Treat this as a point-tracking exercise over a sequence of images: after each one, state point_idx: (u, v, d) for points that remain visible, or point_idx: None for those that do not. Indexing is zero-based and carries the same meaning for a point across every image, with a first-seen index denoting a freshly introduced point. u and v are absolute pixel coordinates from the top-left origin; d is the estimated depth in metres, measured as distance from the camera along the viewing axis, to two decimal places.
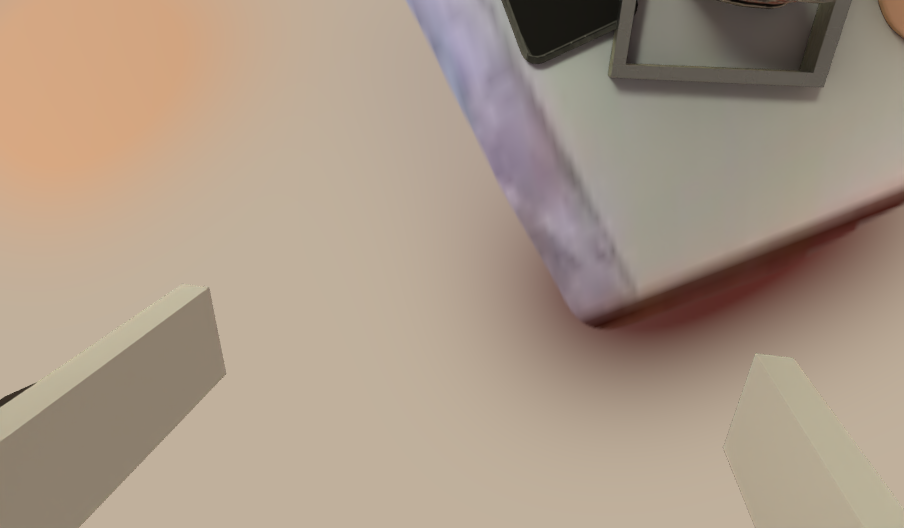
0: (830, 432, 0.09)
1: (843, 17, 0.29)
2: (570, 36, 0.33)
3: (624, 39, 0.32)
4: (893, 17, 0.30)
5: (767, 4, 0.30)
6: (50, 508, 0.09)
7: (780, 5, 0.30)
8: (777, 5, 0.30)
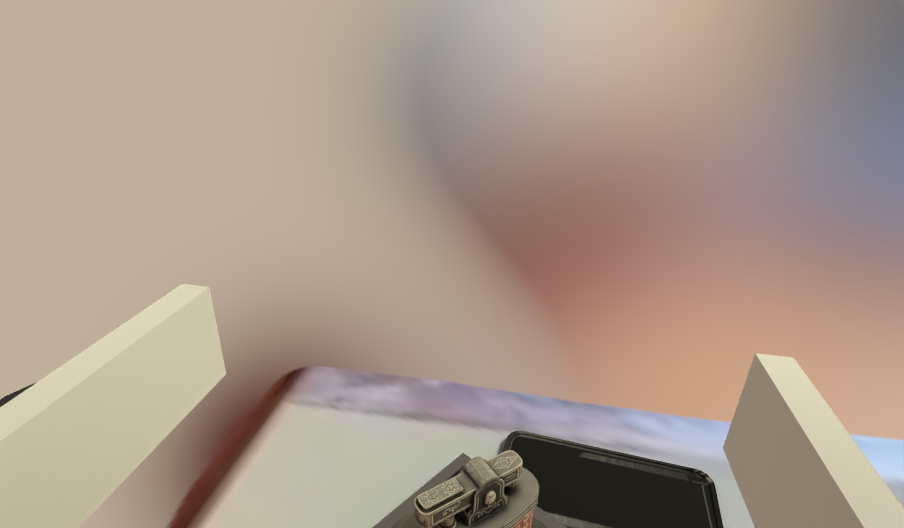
0: (830, 432, 0.09)
1: None
2: None
3: None
4: None
5: None
6: (50, 508, 0.09)
7: None
8: None
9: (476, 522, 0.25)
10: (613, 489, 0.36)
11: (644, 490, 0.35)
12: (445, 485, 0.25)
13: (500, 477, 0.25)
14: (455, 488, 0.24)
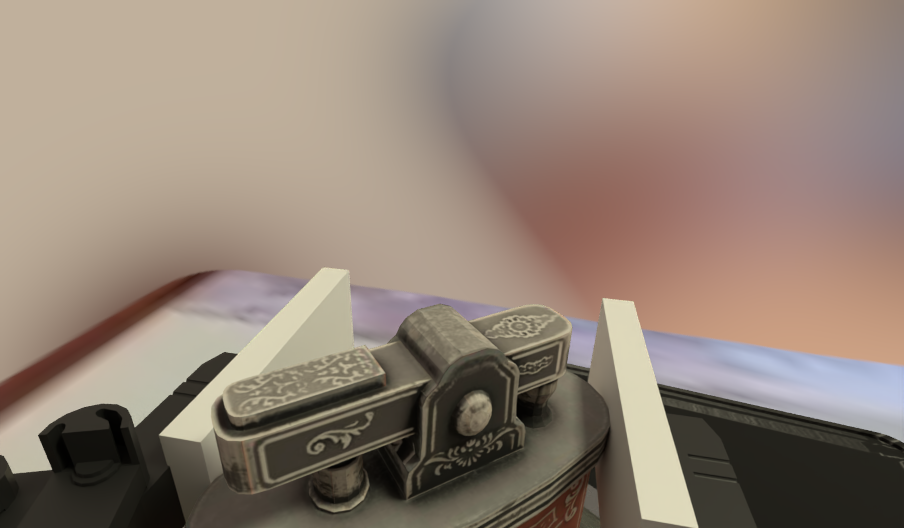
0: (633, 351, 0.11)
1: None
2: None
3: None
4: None
5: None
6: None
7: None
8: None
9: (430, 490, 0.08)
10: None
11: (788, 465, 0.18)
12: (329, 362, 0.08)
13: (507, 356, 0.08)
14: (359, 370, 0.07)
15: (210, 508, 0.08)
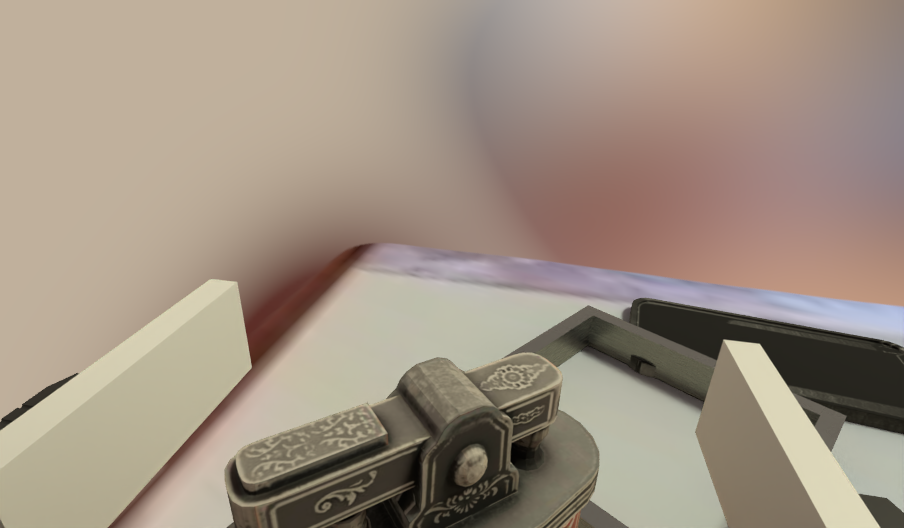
0: (787, 411, 0.09)
1: None
2: (644, 324, 0.31)
3: (619, 324, 0.28)
4: None
5: None
6: (95, 494, 0.09)
7: None
8: None
9: None
10: (782, 353, 0.28)
11: (823, 356, 0.28)
12: (334, 422, 0.08)
13: (502, 410, 0.09)
14: (363, 431, 0.08)
15: None
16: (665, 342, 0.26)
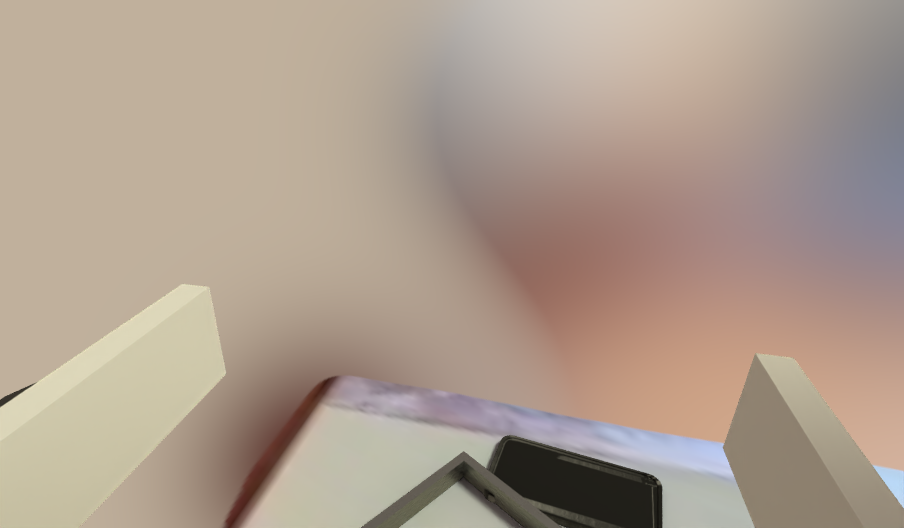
0: (830, 432, 0.09)
1: None
2: (502, 459, 0.48)
3: (478, 468, 0.45)
4: None
5: None
6: (50, 508, 0.09)
7: None
8: None
9: None
10: (580, 485, 0.45)
11: (605, 487, 0.45)
12: None
13: None
14: None
15: None
16: (500, 484, 0.43)
